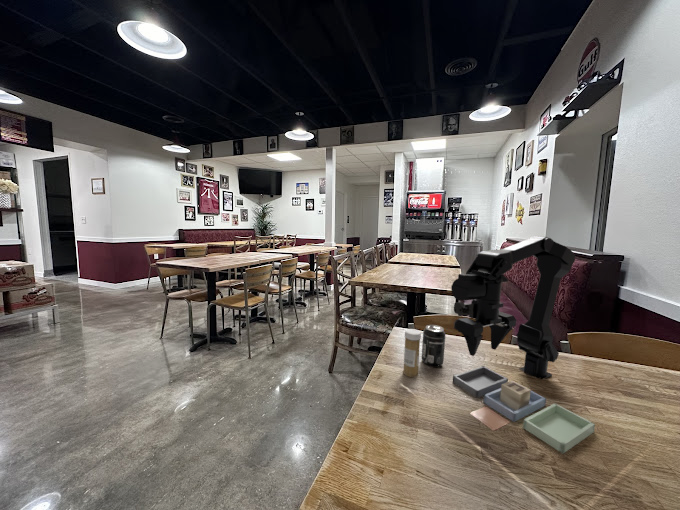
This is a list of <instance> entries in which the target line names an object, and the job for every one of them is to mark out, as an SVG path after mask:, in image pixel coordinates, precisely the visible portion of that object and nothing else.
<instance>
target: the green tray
mask: <svg viewBox="0 0 680 510" xmlns="http://www.w3.org/2000/svg"><path fill="white" fill-rule="evenodd" d="M595 427H596V423H594V422H592V421H590V420H588V419H587V418H584V417H583V416H580V415H579V414H577V413H575V412H573V411H571V410H569V409H568V408H565V407H564V406H561V405H560V404H557V403H552V404H551V405H548V406H547V407H544V408H543V409H541V410H539V411H536V412H535V413H533V414H532V415H531V414H530V415H528V417H525V418H524V419H523V422H522V429H524V430H525V431H527V432H528V433H530V434H531V435H533V436H534V437H536V438H538V439H539V440H540V441H543V442H544V443H545V444H547V445H549V446H550V447H552V448H553V449H555V450H556V451H558V452H559V453H561V454H562V455H563V454H565V453H566V452H568V451H569V450H571V449H572V448H573V447H575V446H577V444H579V443H581V442H582V441H584V440H586V438H588V437H590V436H591V435H592V434H594V432H595Z"/></svg>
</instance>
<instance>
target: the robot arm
mask: <svg viewBox="0 0 680 510" xmlns="http://www.w3.org/2000/svg"><path fill="white" fill-rule="evenodd" d="M530 257H534V258H536V267H537V269H538V272H539V274H540V275H539V280H538V283H537V288H536V290H535V291H536V292H535V295H534V299H533V304H532V308H531V310H530V315H529V319H528V320H527V321H526V322H525V323H521V324H519V326H518V331H517V334H516V342H517V346H518V349H519V351H520V350H521V351H523V352H525V357H524V364H523V365H524V366H522V367H519V368H518V370H520V371H522V372H524V373H525V374H527V375H529V376H531V377H534V378H537V379H538V380H543V379H544V380H545V379H548V378H550V377H552V376H553V374H552V373H550V372H548V365H549V362H550V363H555V362H556V360H557V359H558V358H559V357H558V356H559V353H560V352H559V351H558V350H557V349H556V347H555V345H554V344H553V342H554V334H553V332H552V329H551V327H550V323H551V318H552V317H553V316H552V315H553V311H554V306H555V303H556V300H557V295H558V291H559V288H560V283H561V281H562V279H563V278H564V277H565V276H566V275H567V274H569V272H570V271H571V270H572V268H573V265H574V263H575V261H576V255H575V253H574V252H573V251H572V250H571V249H570V248H569V247H567V246H565V245H563V244H560V243H558V242H556V241H555V240H553V239H552V238H551V237H548V236H539V235H538V236H536V235H535V236H530V237H529V238H527V239H525V240H523V241H519V242H517V243H515V244H513V245H510V246H506V247H504V248H501V249H489V250H483V251H482V250H481V251H480V252H478V253H477V255H476V257H475V259H474V260H473V262H471V264H470V266H469V268H468V269H467V270H466V272H465V274H464V273H458V276H457V277H458V278H456V279H454V281H453V282H452V284H451V285H450V286H451V287H450V288H451V294H452V296H453V297H454V299H455V300H457V301H458V302H454V305H453V312H454V313H455V314H456V315H457V316H458V317H462V316H468V317H462V318H457V319H455V320H454V325H453V329H454V330H456V331H457V332H459V333H461V334H462V335H463V337H464V339H465V341H466V345H467V346H466V347H467V349H468V352H469V355H470V356H472V357H474V356H475V355H476V353H477V351H478V349H479V346H480V343H481V342H482V339H483V337H484V335H483V332H484V328H485V327H489V329H490V348H491V349H492V350H497V349H498V347H499V345H500V344H501V343H502V342H503V340H504V339H505V338H506V337H507V336H508V334H509V333H510V332H511V331H512V330H513V327H516V325H517V319H516V318H515V316H514V315H512V314H509V313H505V312H503V311H500V308H503V307H504V302H501V295H502V285H503V284H502V283H508V282H509V279H508V278H507V277H506V276H505V275H504V274H506V273H507V272H509V271H510V270H511V269H513V266H514V265H515V264H516V263H518V262H520V261H524V260H526V259H528V258H530ZM464 301H471V303H464ZM474 319H475V320H474Z"/></svg>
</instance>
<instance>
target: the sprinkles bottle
mask: <svg viewBox="0 0 680 510" xmlns="http://www.w3.org/2000/svg"><path fill="white" fill-rule="evenodd" d="M421 337H422V333H421V331H420V330H419V329H415V328H408V329H405V332H404V338H405V340H404V348H403V349H404V350H403V351H404V352H403V354H404V355H403V370H402V372H403V374H404V376H406V377H409V378H414V377H417V376H419V364H420V340H421Z"/></svg>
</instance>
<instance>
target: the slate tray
mask: <svg viewBox="0 0 680 510" xmlns="http://www.w3.org/2000/svg"><path fill="white" fill-rule="evenodd" d="M500 396H501V388H499V389H497V390H495V391H492V392H490V393H487V394H485V395H483V403H484V404H485V405H487V407H488V406H489V407H490V408H491V409H493V410H494V411H496V412H497V413H498V414H501V415H503V416H504V418H505V417H506V418H507V419H509V421H512V422H513V423H515V422H516V421H518V420H520V419H522V418H526V416H529V415H531V414H532V413H534V412H537V411H538V410H540V409H542V408H545V407H546V405H547V404H546V403H547V398H546V397H544V396H543V395H540V394H539V393H536V392H535V391H533V390H531V392H530V401H529V405H526V406H524V407H522V408H520V409H518V410H514V409H512V408H511V407H509V406H507V405H506V404H504V403H503V402H501V401H500Z"/></svg>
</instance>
